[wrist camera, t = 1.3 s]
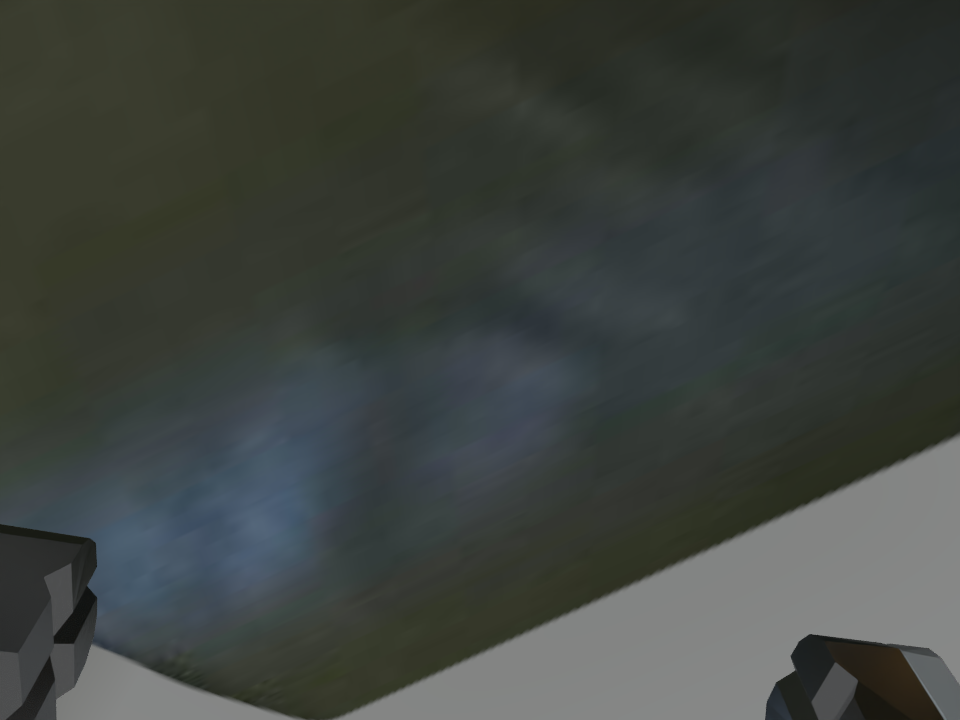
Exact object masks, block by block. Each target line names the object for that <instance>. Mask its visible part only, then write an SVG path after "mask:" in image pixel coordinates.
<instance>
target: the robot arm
mask: <svg viewBox="0 0 960 720" xmlns="http://www.w3.org/2000/svg"><path fill="white" fill-rule="evenodd" d="M96 567H97V559H96V543H95V542H94V541H93V540H91V539H90V538H84V537H78V536H71V535H65V534H59V533H52V532H46V531H40V530H33V529H27V528H21V527H14V526H8V525H2V524H0V720H56V699H57V698H59V697H60V696H62V695H63V694H64V693H66V692H68V691H69V690H71V689H72V688H74V687H75V685H76V683H77V680H78V678H79V676H80V674H81V671H82V670H83V667H84V665H85V663H86V659H87V656H88V653H89V649H90V647H91V643H92V640H93V637H94V631H95V625H96V618H97V597H96V596H95V595H94V594H93V592H92V591H91V590H90V589H89V588H88V587H87V585H88V583H89V581H90V579H91V577H92V575H93V573H94V571H95V569H96ZM791 659H792V662H793V665H794V668H795V671H794V672H792V673H791V674H790V675H788V676H786V677H784V678H783V679H781V680H780V681H778V682H776V684H775V686H774V688H773V691H772V692H771V694H770V697H769V699H768V701H767V705H766V717H765V720H960V685H959V684H958V682H957V681H956V679H955V678H954V676H953V675H952V673H951V672H950V670H949V669H948V667H947V666H946V664H945V663H944V661H943V660H942V658H940V657H939V656H938V655H937V654H935V653H934V652H933V651H931V650H930V649H929V648H921V647H912V646H904V645H896V644H882V643H876V642H869V641H861V640H852V639H844V638H836V637H828V636H820V635H812V634H810V635H808V636H807V637H805V638H803V639H802V640H801V641H799V643H798V645H797V646H796V648H795V650H794V651H793V653H792V655H791Z"/></svg>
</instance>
